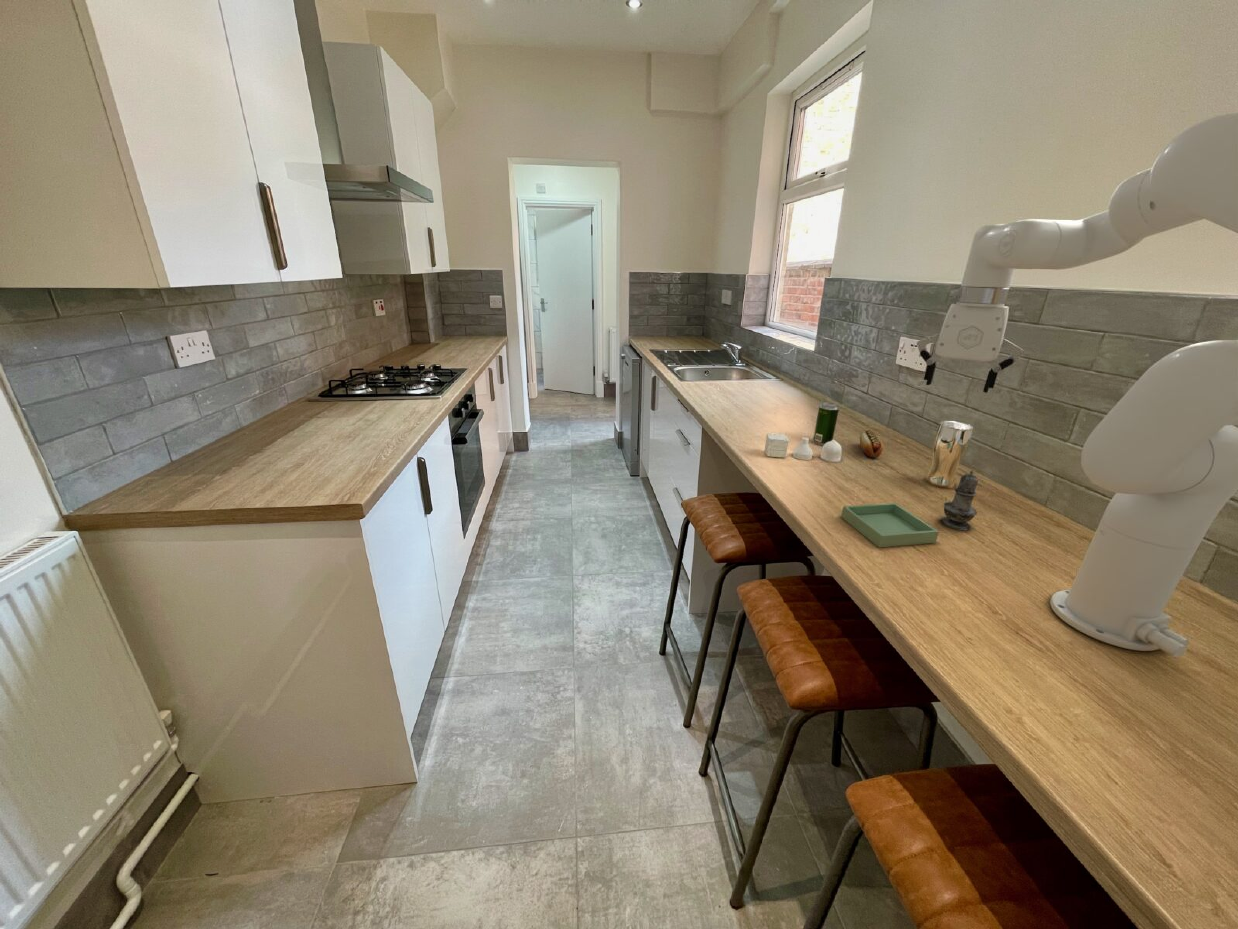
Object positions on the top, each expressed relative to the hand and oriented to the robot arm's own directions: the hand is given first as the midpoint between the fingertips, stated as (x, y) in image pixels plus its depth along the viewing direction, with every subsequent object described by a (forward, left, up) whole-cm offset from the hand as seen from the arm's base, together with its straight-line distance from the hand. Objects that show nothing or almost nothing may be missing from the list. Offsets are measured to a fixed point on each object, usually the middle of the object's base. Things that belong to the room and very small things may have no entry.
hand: (956, 387), depth 98 cm
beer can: (+42, -1, -27) cm, 50 cm away
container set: (+32, +11, -27) cm, 43 cm away
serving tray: (-8, +15, -27) cm, 32 cm away
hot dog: (+33, -10, -27) cm, 44 cm away
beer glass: (+11, -14, -27) cm, 32 cm away
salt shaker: (-8, -1, -27) cm, 28 cm away
